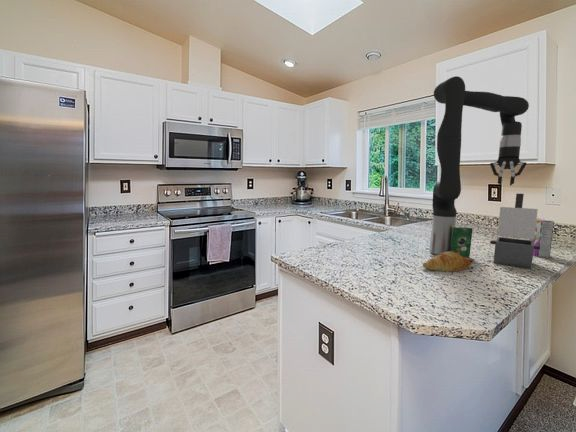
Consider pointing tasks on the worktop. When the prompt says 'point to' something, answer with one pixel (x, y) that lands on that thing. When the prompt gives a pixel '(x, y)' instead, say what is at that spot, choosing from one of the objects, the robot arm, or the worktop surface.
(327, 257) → the worktop surface
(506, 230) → the lid
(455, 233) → the coffee box
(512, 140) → the robot arm
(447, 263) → the croissant
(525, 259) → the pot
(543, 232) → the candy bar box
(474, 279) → the worktop surface
